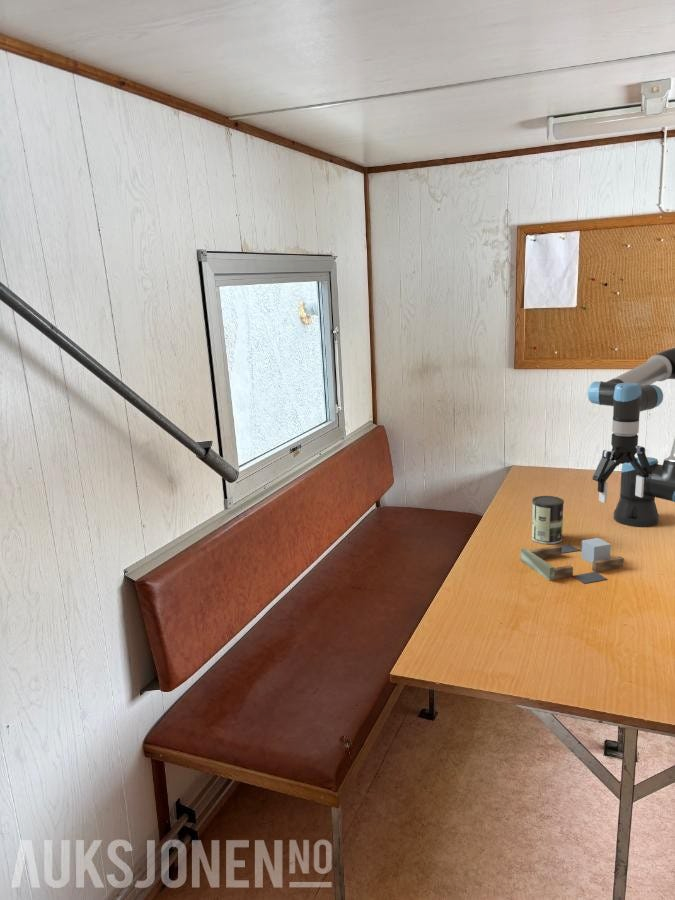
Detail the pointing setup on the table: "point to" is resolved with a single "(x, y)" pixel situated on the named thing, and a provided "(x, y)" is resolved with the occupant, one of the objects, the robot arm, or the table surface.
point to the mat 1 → (568, 548)
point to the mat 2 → (589, 577)
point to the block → (595, 550)
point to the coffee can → (547, 519)
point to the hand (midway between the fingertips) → (620, 499)
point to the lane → (548, 571)
